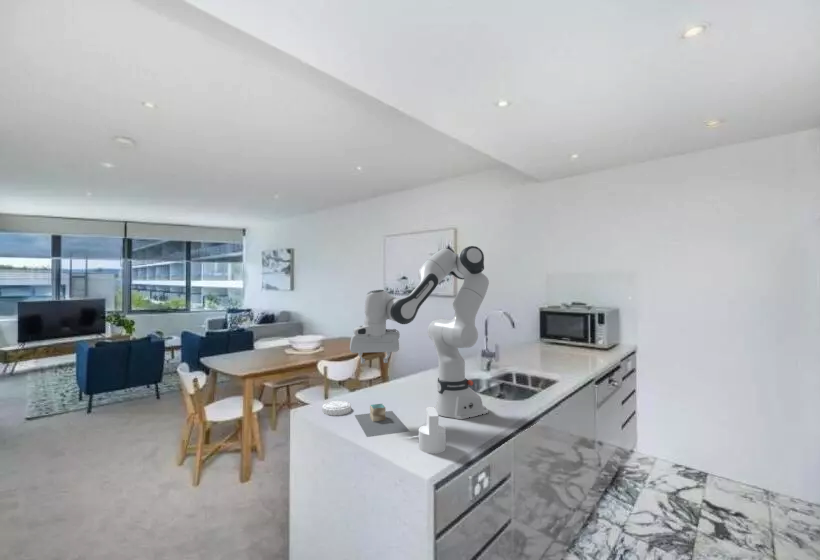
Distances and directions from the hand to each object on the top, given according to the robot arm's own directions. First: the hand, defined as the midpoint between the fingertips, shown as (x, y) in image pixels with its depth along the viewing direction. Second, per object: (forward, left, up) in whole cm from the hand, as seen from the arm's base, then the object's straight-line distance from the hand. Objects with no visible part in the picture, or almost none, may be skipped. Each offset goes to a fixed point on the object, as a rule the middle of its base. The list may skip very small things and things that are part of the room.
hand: (374, 362), depth 157 cm
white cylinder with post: (-11, +35, -22) cm, 43 cm away
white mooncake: (+14, -10, -22) cm, 28 cm away
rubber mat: (0, +10, -22) cm, 24 cm away
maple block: (0, +5, -21) cm, 22 cm away
